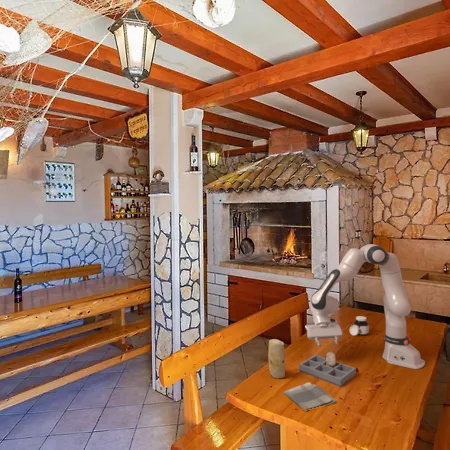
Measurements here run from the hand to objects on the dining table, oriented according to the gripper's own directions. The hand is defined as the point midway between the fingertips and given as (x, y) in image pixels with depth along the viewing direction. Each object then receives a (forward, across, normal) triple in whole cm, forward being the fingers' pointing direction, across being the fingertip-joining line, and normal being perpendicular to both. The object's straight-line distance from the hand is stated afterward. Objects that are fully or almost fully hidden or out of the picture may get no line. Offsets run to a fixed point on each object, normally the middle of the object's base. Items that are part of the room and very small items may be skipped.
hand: (327, 345), depth 206 cm
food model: (+14, -32, +3) cm, 35 cm away
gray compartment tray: (+14, -3, +3) cm, 15 cm away
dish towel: (+31, -20, -13) cm, 40 cm away
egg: (+12, 0, +4) cm, 13 cm away
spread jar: (-22, +39, +40) cm, 60 cm away
